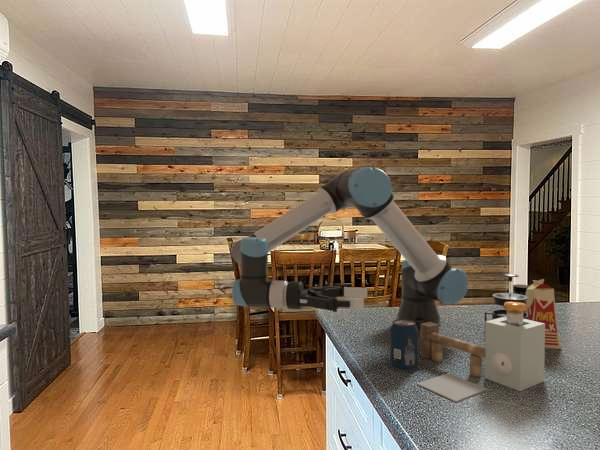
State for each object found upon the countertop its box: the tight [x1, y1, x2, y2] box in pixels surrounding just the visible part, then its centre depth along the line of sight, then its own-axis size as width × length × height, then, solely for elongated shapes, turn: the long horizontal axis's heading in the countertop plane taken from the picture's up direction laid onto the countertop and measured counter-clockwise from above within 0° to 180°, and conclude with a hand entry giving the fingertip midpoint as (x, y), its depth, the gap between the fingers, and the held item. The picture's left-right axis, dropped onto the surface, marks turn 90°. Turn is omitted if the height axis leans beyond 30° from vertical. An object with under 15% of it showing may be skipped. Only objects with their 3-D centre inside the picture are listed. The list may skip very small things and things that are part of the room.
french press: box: [483, 273, 528, 342], centre depth 120 cm, size 12×9×23 cm
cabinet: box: [484, 315, 546, 392], centre depth 104 cm, size 9×12×14 cm
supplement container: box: [512, 283, 531, 295], centre depth 167 cm, size 7×7×10 cm
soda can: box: [390, 318, 419, 372], centre depth 113 cm, size 7×7×12 cm
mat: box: [416, 372, 488, 403], centre depth 101 cm, size 11×11×1 cm
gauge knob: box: [503, 302, 526, 327], centre depth 104 cm, size 5×5×7 cm
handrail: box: [419, 322, 485, 378], centre depth 114 cm, size 20×4×9 cm, turn 32°
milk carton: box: [523, 278, 563, 350], centre depth 131 cm, size 9×9×20 cm
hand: (365, 298), depth 114 cm, fingers open, 13 cm apart
